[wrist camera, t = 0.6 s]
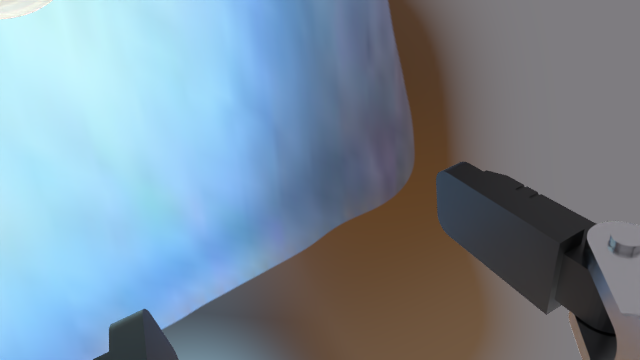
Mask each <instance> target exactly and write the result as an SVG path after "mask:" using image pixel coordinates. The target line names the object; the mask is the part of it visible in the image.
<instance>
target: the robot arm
mask: <svg viewBox="0 0 640 360" xmlns="http://www.w3.org/2000/svg"><path fill="white" fill-rule="evenodd" d="M436 185H437V210H438V219H439V222H440V224H441V226H442V228H443V230H444V231H445V232H446V233H447V234H448V235H449V236H450V237H451V238H452V239H454V240H455V241H456V242H457V243H459V244H460V245H461V246H462V247H463V248H465V249H466V250H467V251H468V252H470V253H471V254H472V255H473V256H474V257H476V258H477V259H478V260H480V261H481V262H482V263H483V264H484V265H486V266H487V267H488V268H489V269H491V270H492V271H493V272H494V273H496V274H497V275H498V276H499V277H500V278H502V279H503V280H504V281H505V282H507V283H508V284H509V285H510V286H512V287H513V288H514V289H515V290H516V291H518V292H519V293H520V294H521V295H523V296H524V297H525V298H527V299H528V300H529V301H530V302H531V303H533V304H534V305H535V306H536V307H537V308H539V309H540V310H541V311H543V312H544V313H545V314H546V315H547V314H548V313H550V312H551V311H553V310H555V309H556V308H558V307H559V306H561V305H563V306H564V307H565V308H567V309H568V310H569V314H568V318H569V322H570V325H571V328H572V331H573V334H574V337H575V340H576V343H577V346H578V349H579V352H580V355H581V358H582V360H640V226H639V225H636V224H632V223H627V222H621V221H607V222H602V223H599V224H596V223H594V222H592V221H590V220H588V219H586V218H584V217H582V216H581V215H578V214H577V213H575V212H573V211H571V210H569V209H567V208H566V207H564V206H562V205H560V204H558V203H556V202H554V201H553V200H551V199H549V198H547V197H545V196H543V195H539V194H538V192H536V191H534V190H532V189H531V188H529V187H524V185H523V184H521V183H519V182H518V181H516V180H514V179H512V178H510V177H508V176H506V175H502V174H498V173H494V172H491V171H484V172H483V171H481V170H480V169H478V168H476V167H475V166H473V165H471V164H469V163H467V162H460V163H458V164H456V165H454V166H451V167H449V168H447V169H445V170H443V171H441V172H439V173H438V174H437V178H436ZM93 360H178V357H177V355H176V352H175V351H174V349H173V347H172V345H171V344H170V342H169V341H168V339H167V338H166V336H165V335H164V333H163V332H162V330H161V329H160V327H159V326H158V324H157V323H156V321H155V320H154V318H153V317H152V315H151V314H150V313H149V311H148V310H146V309H143V310H141V311H139V312H136V313H134V314H132V315H130V316H128V317H126V318H124V319H121V320H119V321H117V322H115V323H113V324H111V325H110V328H109V352H107V353H105V354H103V355H101V356H99V357H97V358H95V359H93Z"/></svg>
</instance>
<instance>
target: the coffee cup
mask: <svg viewBox="0 0 640 360" xmlns="http://www.w3.org/2000/svg"><path fill="white" fill-rule="evenodd" d="M51 1H52V0H0V19H8V18H15V17H19V16H23V15H27V14H29V13H32V12H34V11H37V10H39V9H41V8H42V7H44V6H46V5H47V4H49V3H50V2H51Z"/></svg>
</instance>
